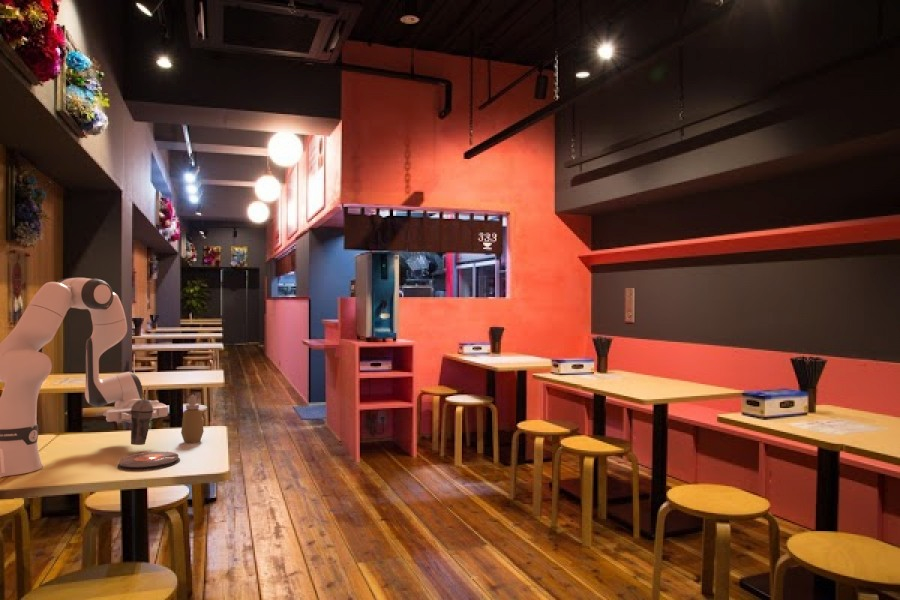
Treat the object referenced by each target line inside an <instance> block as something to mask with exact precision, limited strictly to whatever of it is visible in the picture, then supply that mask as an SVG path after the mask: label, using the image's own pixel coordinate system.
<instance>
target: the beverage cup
mask: <svg viewBox="0 0 900 600" xmlns="http://www.w3.org/2000/svg"><path fill="white" fill-rule="evenodd" d="M148 391H149V387H146V391H145V395H144V399H142V400H138V401H137V402H135V403H134V405H133V406H132V409H131V415H132V416H131V417H132V421H131V423H130V424H131V428H130V444H131V445H134V446H142V445H143V446H144V445H145V444H146V442H147V441H146V440H147V437H148V432H149V427H150V424H151V416H152V413H153V406H152V404H151V403H150V402H149V401H147V400H148V399H147V396H148Z"/></svg>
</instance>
